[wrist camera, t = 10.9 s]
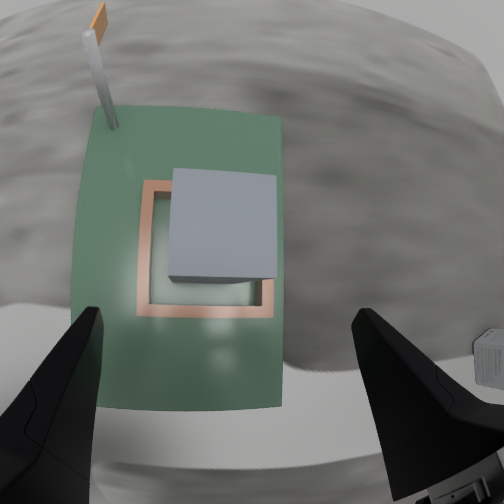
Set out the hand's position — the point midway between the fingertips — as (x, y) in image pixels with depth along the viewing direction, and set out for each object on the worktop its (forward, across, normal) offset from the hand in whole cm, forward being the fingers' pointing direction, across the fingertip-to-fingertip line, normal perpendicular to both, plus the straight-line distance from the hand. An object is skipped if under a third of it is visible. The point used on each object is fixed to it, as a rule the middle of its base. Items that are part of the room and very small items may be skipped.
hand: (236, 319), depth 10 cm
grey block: (+12, 0, +6) cm, 13 cm away
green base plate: (+12, +2, +6) cm, 14 cm away
